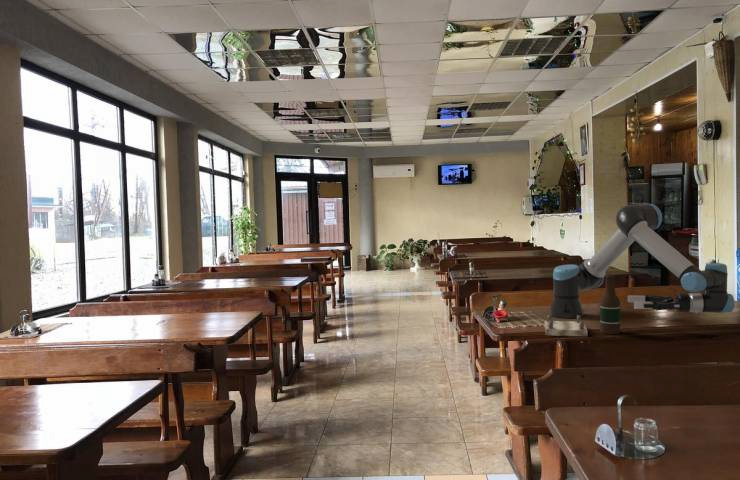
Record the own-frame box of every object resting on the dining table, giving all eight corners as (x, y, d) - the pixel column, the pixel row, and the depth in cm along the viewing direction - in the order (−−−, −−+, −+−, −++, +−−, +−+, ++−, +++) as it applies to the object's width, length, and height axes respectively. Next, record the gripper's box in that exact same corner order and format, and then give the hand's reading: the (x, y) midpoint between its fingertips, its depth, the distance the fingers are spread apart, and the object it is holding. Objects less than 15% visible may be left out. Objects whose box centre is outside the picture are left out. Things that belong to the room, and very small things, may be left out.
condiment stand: (546, 335, 239) (545, 322, 238) (544, 326, 254) (544, 314, 254) (587, 336, 235) (587, 323, 234) (583, 327, 250) (583, 314, 250)
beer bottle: (619, 330, 242) (619, 273, 241) (621, 335, 235) (621, 276, 233) (599, 329, 245) (599, 273, 243) (600, 334, 238) (600, 276, 236)
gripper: (697, 318, 220) (637, 317, 225) (680, 306, 244) (625, 305, 249) (698, 299, 219) (637, 298, 224) (680, 288, 243) (625, 287, 249)
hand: (630, 302), depth 237 cm, fingers open, 13 cm apart
